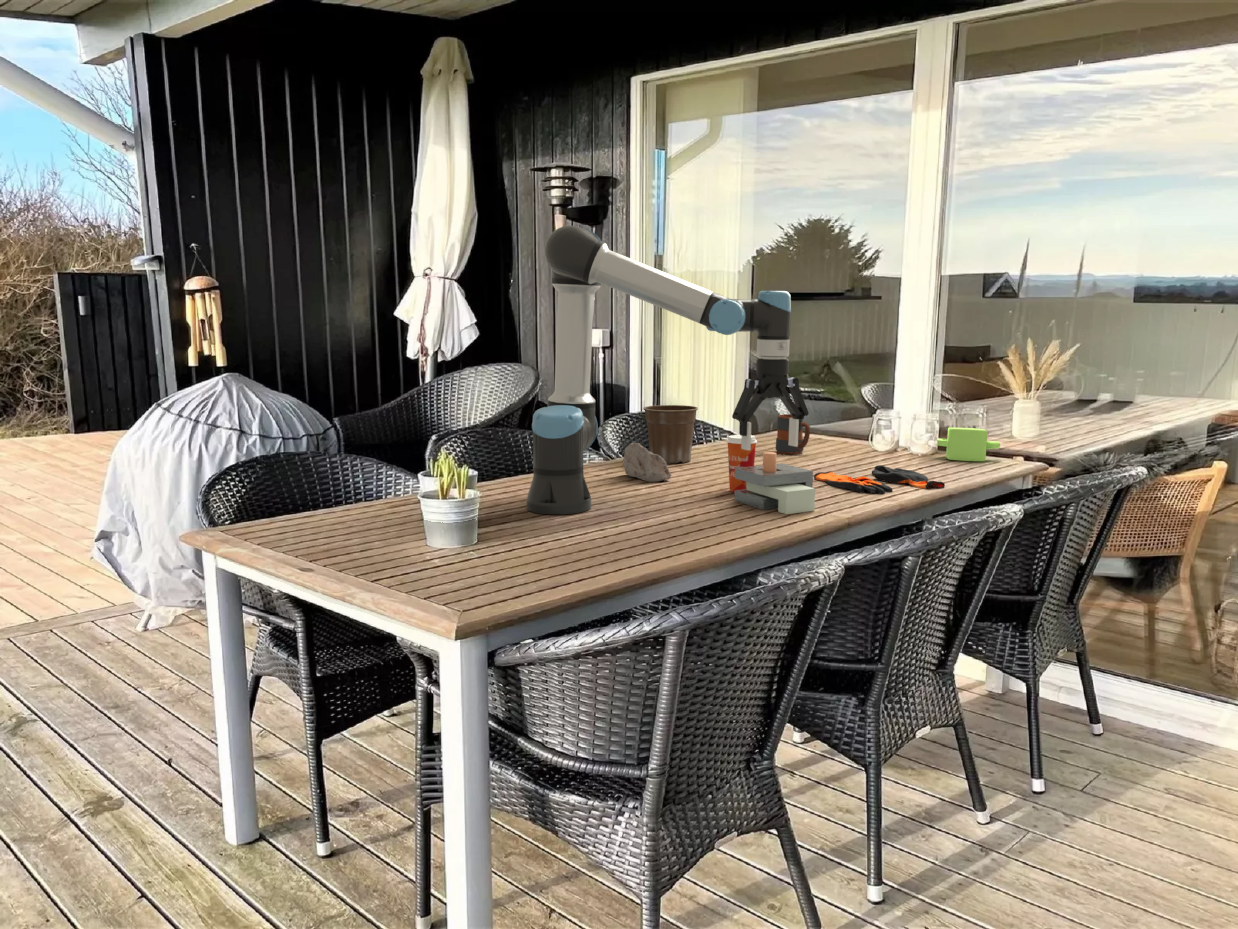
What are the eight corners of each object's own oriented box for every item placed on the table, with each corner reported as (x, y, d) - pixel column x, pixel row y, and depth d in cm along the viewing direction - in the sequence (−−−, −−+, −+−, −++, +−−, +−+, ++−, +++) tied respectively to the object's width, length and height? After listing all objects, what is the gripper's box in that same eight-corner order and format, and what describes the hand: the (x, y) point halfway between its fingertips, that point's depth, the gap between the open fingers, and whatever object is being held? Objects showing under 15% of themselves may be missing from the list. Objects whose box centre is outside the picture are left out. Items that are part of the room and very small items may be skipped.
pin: (759, 502, 237) (760, 452, 235) (770, 500, 238) (771, 451, 236) (767, 504, 234) (768, 454, 232) (778, 503, 235) (779, 453, 233)
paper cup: (719, 491, 250) (720, 436, 248) (737, 486, 256) (738, 433, 253) (744, 495, 245) (745, 439, 242) (762, 490, 250) (763, 436, 248)
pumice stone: (674, 481, 264) (674, 444, 262) (652, 484, 259) (652, 447, 257) (639, 473, 275) (639, 438, 274) (617, 476, 271) (617, 440, 269)
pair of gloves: (865, 498, 244) (865, 484, 243) (808, 481, 266) (808, 468, 265) (951, 489, 255) (952, 476, 254) (889, 473, 277) (890, 461, 276)
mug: (799, 457, 301) (800, 419, 299) (769, 452, 310) (770, 415, 308) (817, 454, 307) (818, 416, 305) (787, 449, 316) (788, 413, 314)
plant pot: (646, 455, 304) (646, 403, 302) (698, 456, 302) (699, 404, 299) (640, 464, 289) (640, 410, 286) (695, 466, 286) (696, 410, 284)
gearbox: (997, 459, 300) (999, 428, 299) (1001, 463, 290) (1004, 431, 289) (935, 455, 304) (937, 425, 303) (937, 459, 295) (939, 428, 293)
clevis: (763, 510, 228) (764, 476, 227) (734, 500, 239) (734, 467, 237) (811, 504, 234) (813, 470, 233) (781, 495, 245) (782, 463, 244)
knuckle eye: (786, 514, 224) (786, 491, 223) (746, 501, 238) (746, 480, 237) (814, 510, 227) (815, 488, 226) (773, 498, 241) (773, 477, 241)
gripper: (737, 360, 221) (734, 453, 225) (825, 357, 232) (821, 446, 236) (718, 358, 228) (716, 448, 232) (805, 355, 239) (802, 442, 243)
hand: (769, 447), depth 234 cm, fingers open, 13 cm apart
